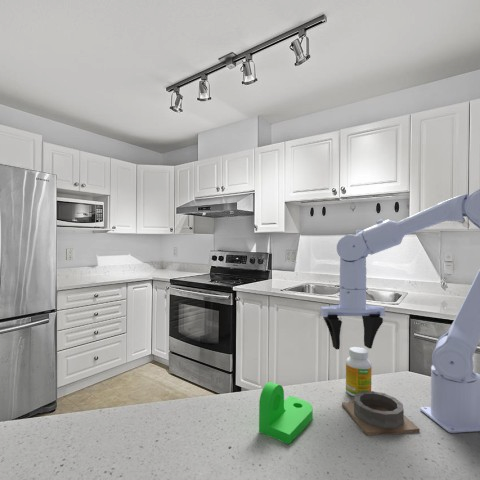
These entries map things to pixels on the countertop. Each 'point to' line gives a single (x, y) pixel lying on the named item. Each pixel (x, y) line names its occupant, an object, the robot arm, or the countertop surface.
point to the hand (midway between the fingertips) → (352, 347)
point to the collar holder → (379, 414)
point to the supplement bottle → (358, 371)
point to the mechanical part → (282, 414)
